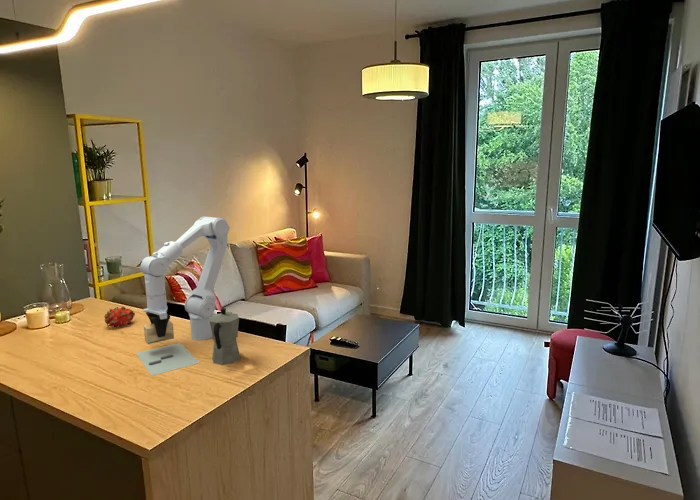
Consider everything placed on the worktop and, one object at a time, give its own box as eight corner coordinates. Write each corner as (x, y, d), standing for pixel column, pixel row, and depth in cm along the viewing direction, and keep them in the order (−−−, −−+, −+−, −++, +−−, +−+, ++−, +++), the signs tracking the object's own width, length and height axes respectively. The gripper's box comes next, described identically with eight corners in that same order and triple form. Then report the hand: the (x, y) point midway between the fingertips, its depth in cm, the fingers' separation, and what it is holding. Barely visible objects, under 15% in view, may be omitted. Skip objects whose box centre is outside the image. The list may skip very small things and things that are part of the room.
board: (180, 346, 155) (179, 342, 155) (200, 367, 139) (199, 362, 139) (136, 357, 147) (135, 353, 146) (152, 380, 131) (151, 375, 131)
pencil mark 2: (172, 355, 144) (172, 354, 144) (173, 356, 143) (172, 355, 143) (160, 358, 142) (160, 357, 142) (161, 359, 141) (161, 358, 141)
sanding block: (170, 334, 151) (169, 320, 150) (174, 338, 148) (172, 323, 147) (144, 340, 146) (143, 325, 145) (148, 344, 143) (146, 329, 142)
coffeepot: (217, 354, 149) (214, 301, 145) (246, 354, 149) (243, 301, 145) (202, 376, 133) (198, 318, 130) (234, 376, 133) (230, 317, 130)
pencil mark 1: (160, 361, 140) (160, 359, 140) (161, 362, 139) (161, 360, 139) (148, 364, 138) (148, 362, 138) (149, 365, 137) (149, 363, 137)
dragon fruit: (102, 334, 171) (133, 329, 180) (112, 325, 166) (143, 320, 176) (96, 314, 173) (127, 310, 183) (106, 304, 169) (137, 301, 179)
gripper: (137, 291, 147) (141, 330, 150) (148, 301, 136) (152, 344, 139) (159, 287, 152) (163, 326, 154) (172, 297, 140) (176, 339, 143)
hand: (159, 334), depth 147 cm, fingers closed on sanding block, 4 cm apart
